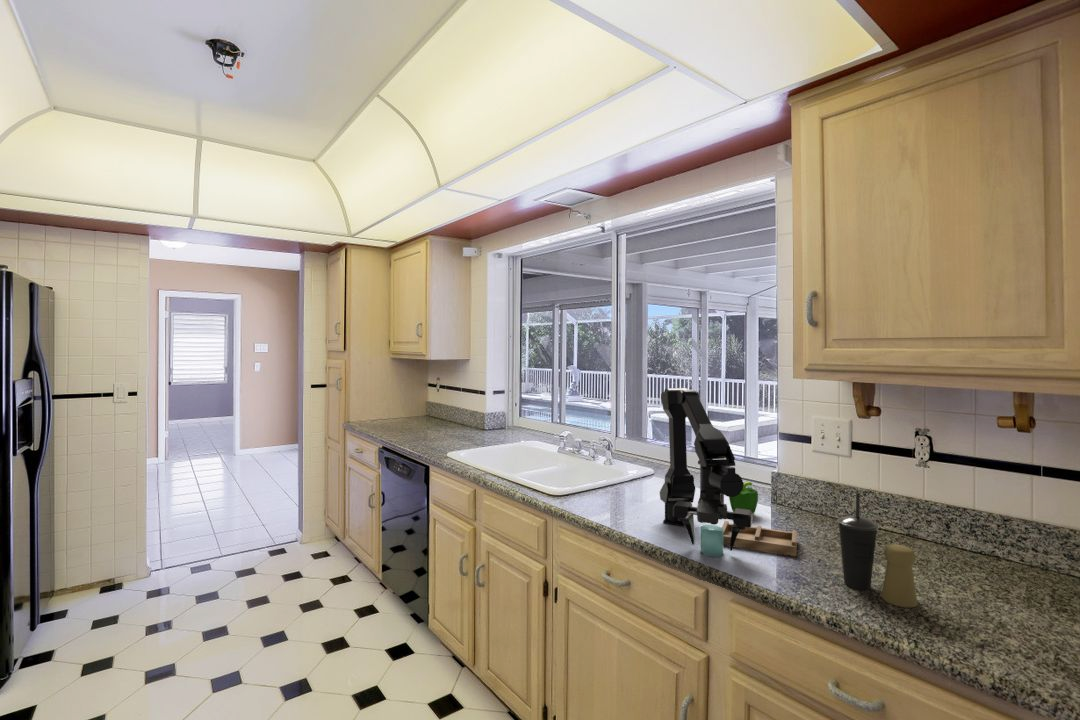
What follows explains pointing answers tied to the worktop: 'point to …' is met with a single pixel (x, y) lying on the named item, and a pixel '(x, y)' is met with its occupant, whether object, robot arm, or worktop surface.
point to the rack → (762, 539)
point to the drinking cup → (857, 548)
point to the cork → (899, 576)
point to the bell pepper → (745, 499)
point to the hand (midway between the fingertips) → (711, 547)
